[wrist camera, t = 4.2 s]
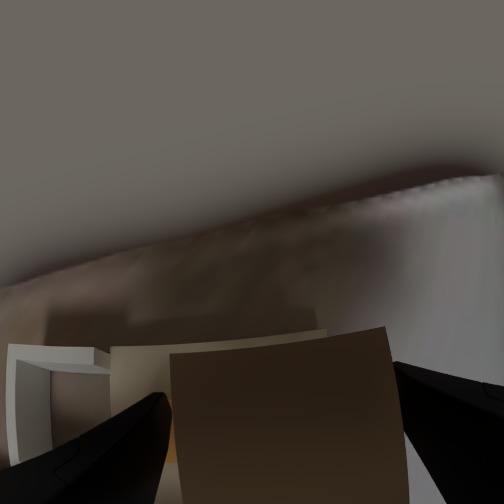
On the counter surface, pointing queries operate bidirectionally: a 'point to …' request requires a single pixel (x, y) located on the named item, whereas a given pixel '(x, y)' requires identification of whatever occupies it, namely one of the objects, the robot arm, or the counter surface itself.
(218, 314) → the counter surface
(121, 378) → the board
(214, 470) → the brown wooden block
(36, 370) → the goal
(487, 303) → the counter surface
